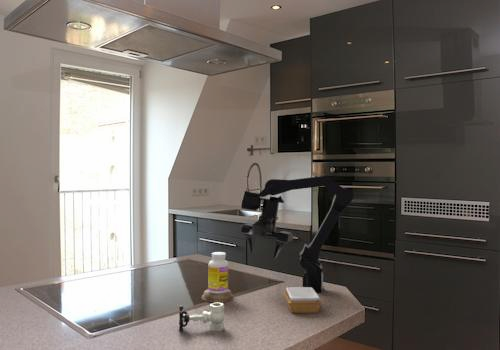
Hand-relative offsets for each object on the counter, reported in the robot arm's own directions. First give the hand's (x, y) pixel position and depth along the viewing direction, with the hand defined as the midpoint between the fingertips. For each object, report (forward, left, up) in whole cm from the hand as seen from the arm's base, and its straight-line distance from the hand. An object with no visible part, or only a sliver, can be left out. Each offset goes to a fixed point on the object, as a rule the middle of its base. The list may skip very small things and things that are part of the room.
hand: (263, 255), depth 149 cm
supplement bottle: (+10, +17, -10) cm, 22 cm away
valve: (+3, +43, -12) cm, 45 cm away
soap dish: (-18, +16, -12) cm, 27 cm away
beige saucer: (+10, +17, -12) cm, 23 cm away
